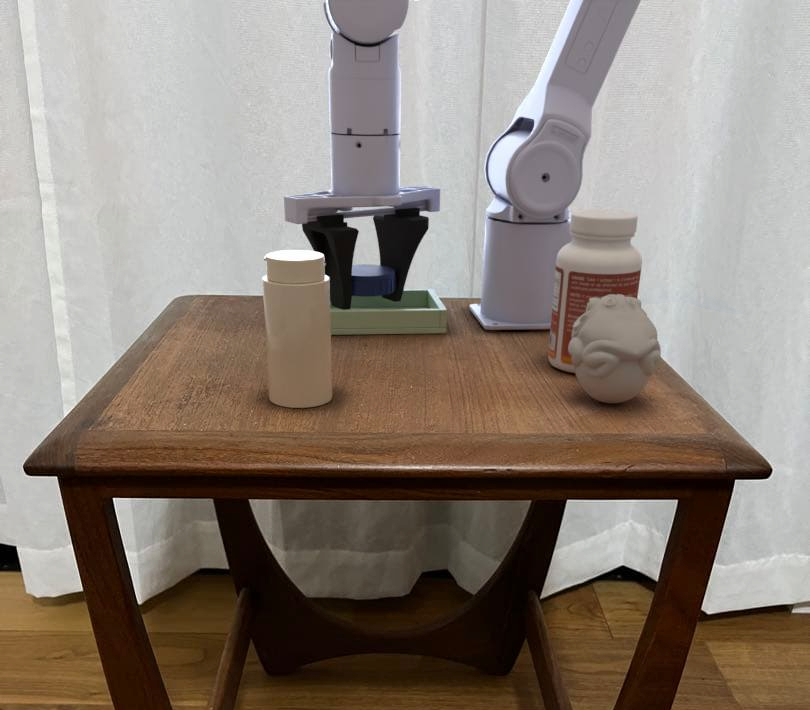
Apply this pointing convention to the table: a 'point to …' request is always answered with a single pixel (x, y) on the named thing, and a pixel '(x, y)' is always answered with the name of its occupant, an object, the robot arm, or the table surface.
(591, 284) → the pill bottle
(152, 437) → the table surface
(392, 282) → the lid
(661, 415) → the table surface
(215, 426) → the table surface
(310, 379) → the jar
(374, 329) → the tray
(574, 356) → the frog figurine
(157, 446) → the table surface
